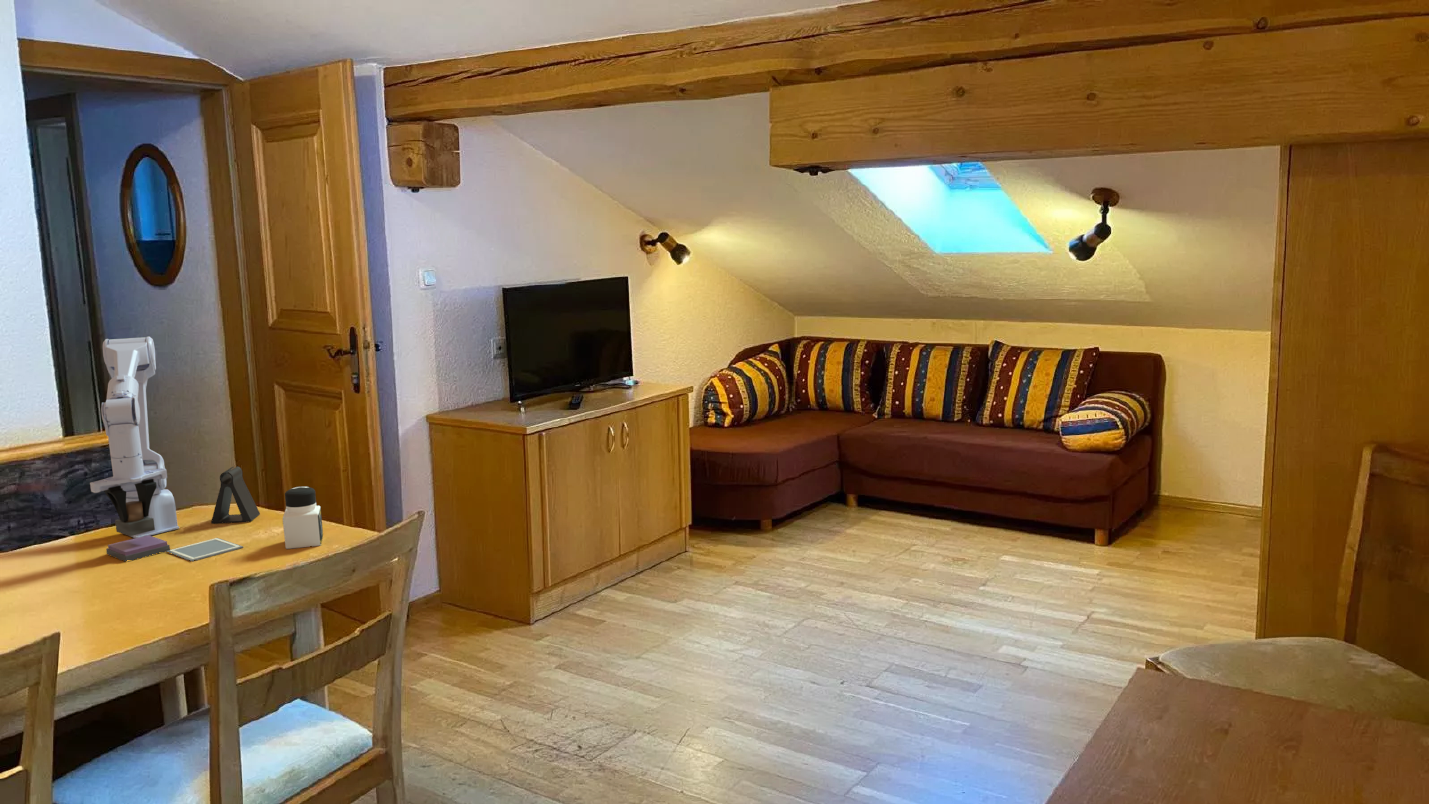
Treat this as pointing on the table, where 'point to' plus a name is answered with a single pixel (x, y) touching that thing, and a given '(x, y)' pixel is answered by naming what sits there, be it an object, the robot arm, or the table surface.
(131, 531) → the stamp
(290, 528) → the medicine bottle
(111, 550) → the ink pad
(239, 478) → the dark grey triangular stand
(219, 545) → the board
